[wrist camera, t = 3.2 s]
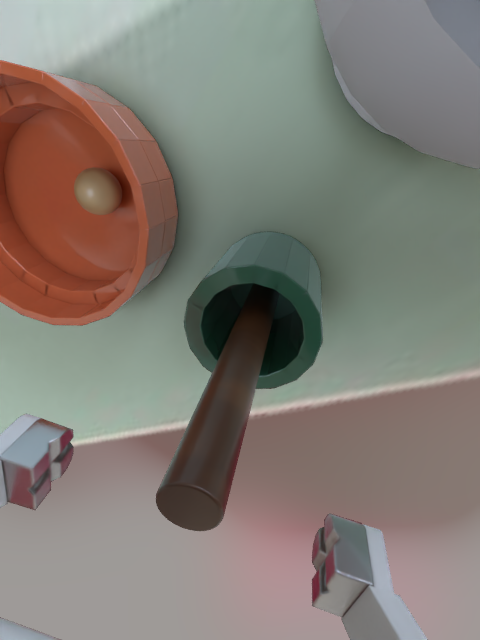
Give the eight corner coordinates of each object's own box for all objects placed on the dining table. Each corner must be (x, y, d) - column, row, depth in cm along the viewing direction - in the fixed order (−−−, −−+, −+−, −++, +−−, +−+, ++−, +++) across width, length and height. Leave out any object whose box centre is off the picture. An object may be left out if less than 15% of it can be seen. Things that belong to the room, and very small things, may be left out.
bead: (131, 172, 24) (108, 175, 21) (128, 216, 25) (106, 224, 23) (91, 161, 24) (63, 163, 21) (90, 205, 25) (64, 211, 23)
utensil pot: (336, 248, 24) (344, 290, 17) (301, 339, 27) (296, 405, 20) (231, 218, 24) (196, 247, 17) (211, 311, 28) (175, 366, 21)
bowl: (196, 112, 22) (162, 102, 17) (166, 317, 29) (136, 351, 24) (-22, 54, 23) (-112, 30, 18) (2, 267, 30) (-59, 290, 25)
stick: (284, 276, 25) (229, 499, 9) (277, 300, 26) (215, 540, 10) (258, 268, 25) (158, 475, 9) (251, 293, 26) (151, 518, 10)
